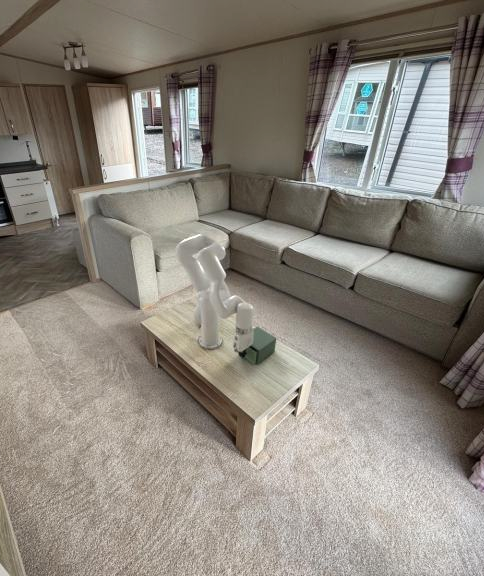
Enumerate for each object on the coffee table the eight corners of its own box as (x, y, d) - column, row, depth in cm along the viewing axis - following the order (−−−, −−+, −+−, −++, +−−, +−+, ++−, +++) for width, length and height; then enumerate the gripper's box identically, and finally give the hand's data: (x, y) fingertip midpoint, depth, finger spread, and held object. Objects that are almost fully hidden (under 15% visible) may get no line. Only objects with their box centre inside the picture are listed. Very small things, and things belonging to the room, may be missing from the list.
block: (247, 350, 156) (248, 345, 153) (252, 347, 158) (253, 341, 156) (253, 355, 153) (254, 349, 151) (258, 351, 155) (259, 345, 153)
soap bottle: (209, 311, 189) (209, 270, 174) (222, 319, 182) (223, 277, 166) (189, 322, 181) (186, 280, 165) (201, 331, 173) (200, 288, 157)
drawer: (252, 365, 148) (253, 354, 144) (235, 353, 156) (236, 342, 152) (269, 352, 156) (271, 341, 152) (252, 341, 163) (253, 331, 159)
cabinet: (257, 364, 150) (259, 350, 145) (239, 350, 159) (239, 337, 154) (274, 351, 157) (276, 338, 153) (256, 339, 166) (257, 326, 161)
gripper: (238, 338, 134) (236, 367, 143) (260, 324, 141) (257, 353, 151) (226, 330, 139) (225, 359, 148) (248, 317, 146) (246, 345, 156)
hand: (241, 356), depth 150 cm, fingers closed
